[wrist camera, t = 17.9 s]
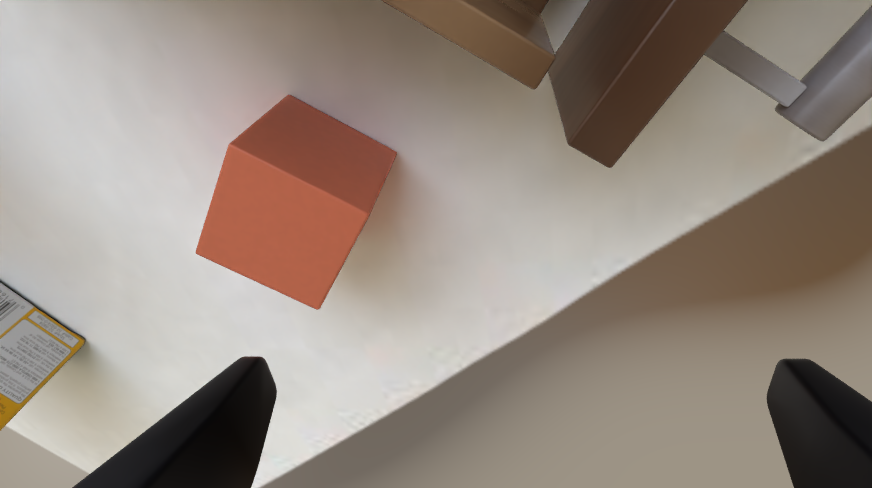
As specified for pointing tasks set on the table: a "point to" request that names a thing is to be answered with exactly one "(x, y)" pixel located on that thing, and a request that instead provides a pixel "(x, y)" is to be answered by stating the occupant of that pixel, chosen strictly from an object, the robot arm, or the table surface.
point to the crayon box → (28, 351)
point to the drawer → (644, 62)
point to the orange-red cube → (293, 200)
